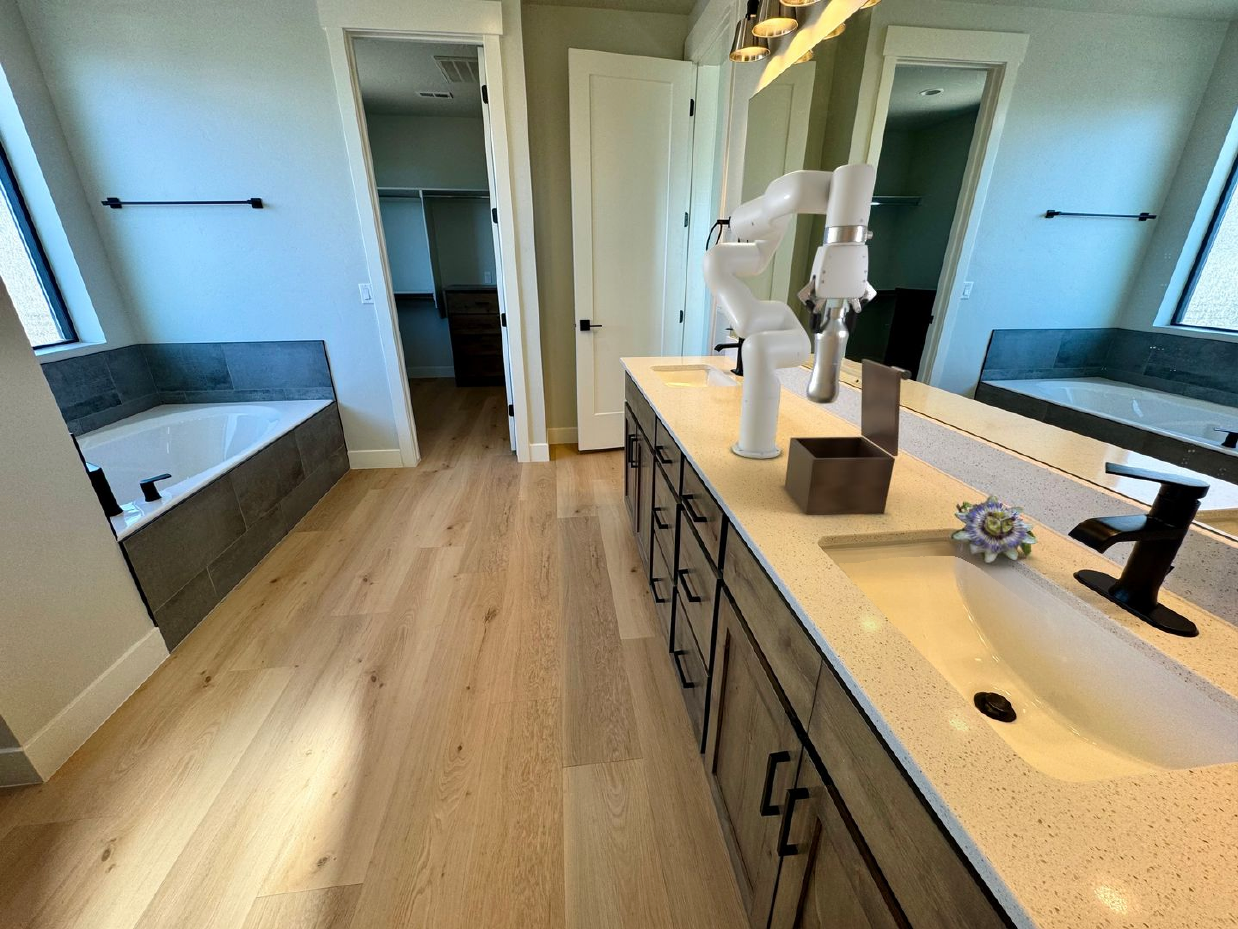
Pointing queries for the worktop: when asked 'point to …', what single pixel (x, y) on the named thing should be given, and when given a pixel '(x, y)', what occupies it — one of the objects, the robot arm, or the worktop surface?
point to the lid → (881, 404)
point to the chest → (838, 475)
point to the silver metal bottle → (828, 357)
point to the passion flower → (994, 529)
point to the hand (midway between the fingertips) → (831, 331)
